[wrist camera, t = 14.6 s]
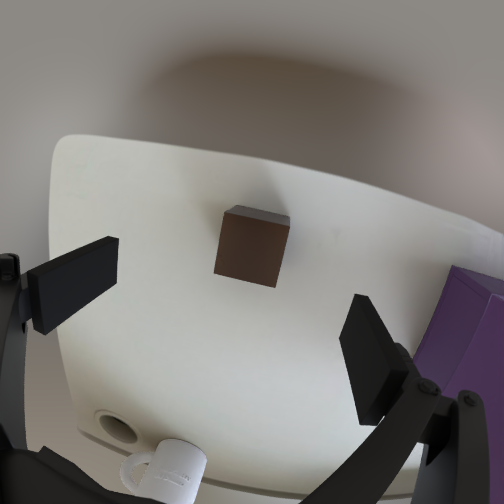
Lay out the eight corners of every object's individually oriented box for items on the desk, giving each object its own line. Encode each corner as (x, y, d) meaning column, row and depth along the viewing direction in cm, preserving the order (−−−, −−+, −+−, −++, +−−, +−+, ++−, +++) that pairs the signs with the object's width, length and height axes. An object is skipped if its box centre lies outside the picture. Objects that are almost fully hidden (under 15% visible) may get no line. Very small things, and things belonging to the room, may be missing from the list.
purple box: (538, 292, 25) (573, 315, 17) (500, 373, 28) (525, 404, 21) (451, 265, 26) (491, 292, 18) (408, 366, 29) (430, 410, 22)
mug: (133, 423, 37) (99, 478, 26) (208, 445, 36) (186, 510, 25) (139, 451, 40) (112, 502, 28) (206, 471, 39) (188, 528, 27)
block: (290, 216, 27) (290, 226, 22) (278, 268, 28) (275, 288, 23) (235, 204, 27) (224, 211, 22) (226, 256, 29) (213, 273, 24)
